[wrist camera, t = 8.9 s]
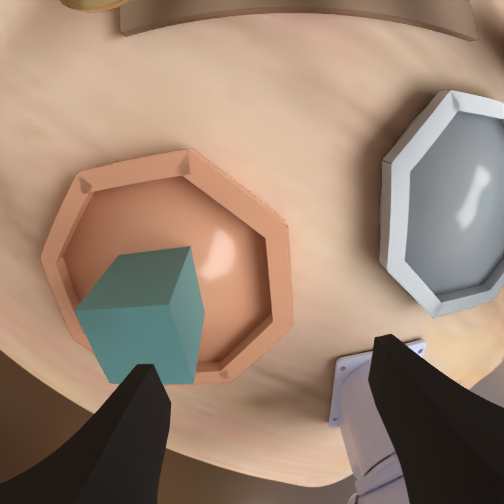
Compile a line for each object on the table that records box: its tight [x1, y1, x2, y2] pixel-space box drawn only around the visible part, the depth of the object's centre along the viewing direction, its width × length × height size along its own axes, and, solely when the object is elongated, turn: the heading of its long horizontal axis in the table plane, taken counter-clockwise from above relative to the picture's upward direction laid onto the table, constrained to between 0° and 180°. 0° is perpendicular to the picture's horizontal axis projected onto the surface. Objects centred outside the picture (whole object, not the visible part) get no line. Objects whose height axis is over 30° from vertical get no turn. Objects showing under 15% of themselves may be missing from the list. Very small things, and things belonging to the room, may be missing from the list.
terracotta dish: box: [40, 149, 293, 385], centre depth 18 cm, size 15×15×2 cm
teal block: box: [75, 246, 205, 384], centre depth 15 cm, size 4×4×6 cm
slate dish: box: [379, 90, 504, 318], centre depth 16 cm, size 15×15×2 cm
